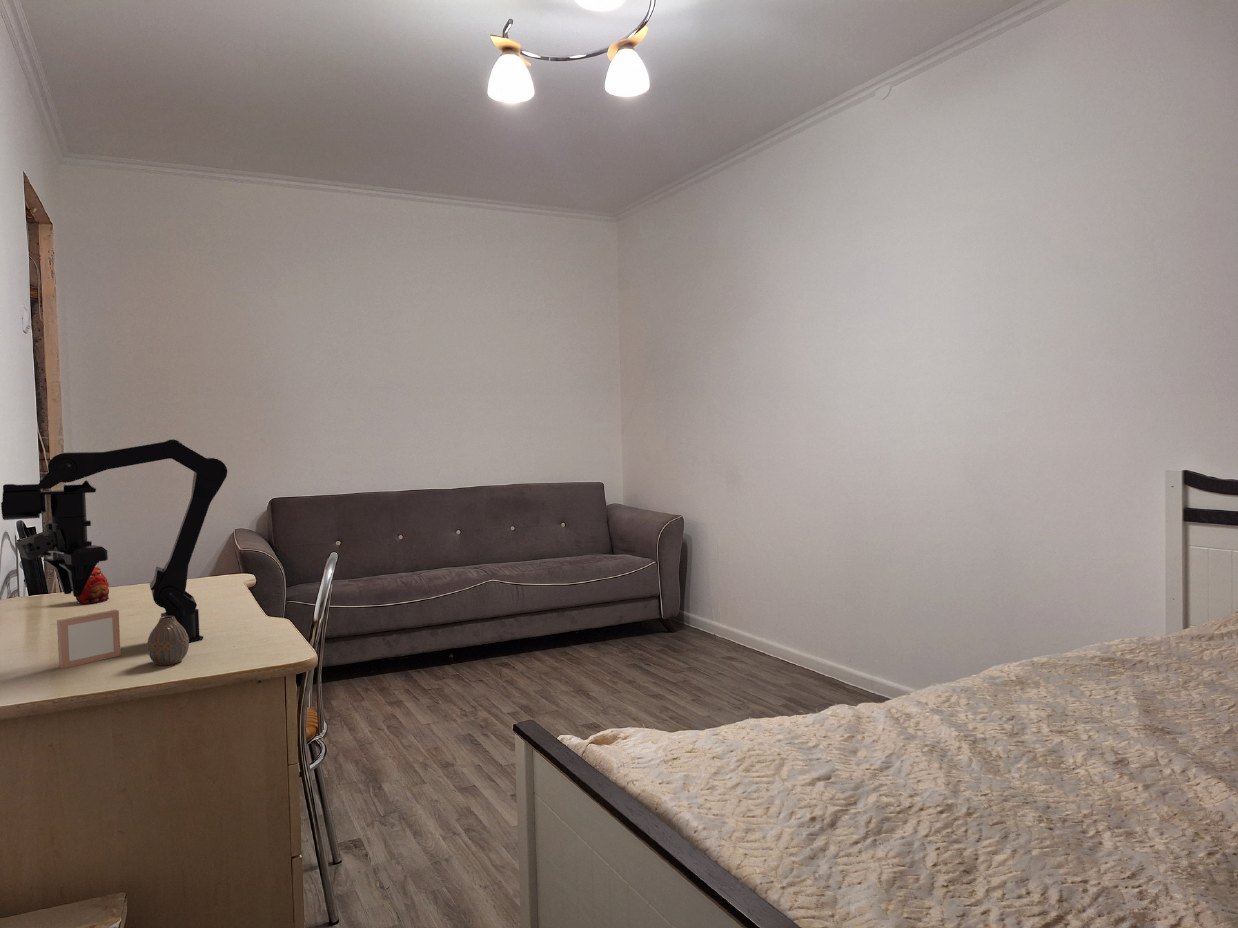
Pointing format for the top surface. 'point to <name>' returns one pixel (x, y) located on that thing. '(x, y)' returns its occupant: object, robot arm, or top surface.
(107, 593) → the red clay folk toy
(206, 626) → the top surface
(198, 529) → the robot arm
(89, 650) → the tile
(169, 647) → the vase
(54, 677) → the top surface
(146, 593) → the top surface
